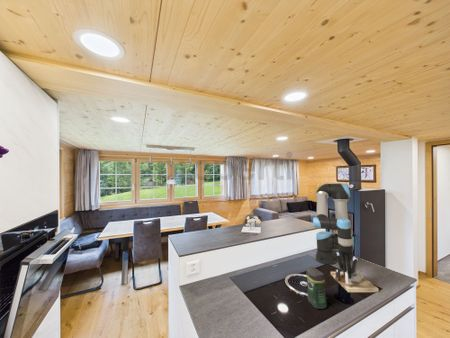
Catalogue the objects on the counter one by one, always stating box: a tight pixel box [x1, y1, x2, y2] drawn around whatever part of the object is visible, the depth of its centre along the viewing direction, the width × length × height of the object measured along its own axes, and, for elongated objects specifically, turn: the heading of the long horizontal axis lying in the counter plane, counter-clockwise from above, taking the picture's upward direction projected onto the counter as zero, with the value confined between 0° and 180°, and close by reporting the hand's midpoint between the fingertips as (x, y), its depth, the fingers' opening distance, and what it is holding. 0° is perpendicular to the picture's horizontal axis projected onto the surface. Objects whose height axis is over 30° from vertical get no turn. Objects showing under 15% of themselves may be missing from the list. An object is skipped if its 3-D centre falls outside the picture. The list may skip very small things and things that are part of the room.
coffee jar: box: [305, 266, 328, 310], centre depth 102 cm, size 10×8×19 cm
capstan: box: [334, 267, 362, 283], centre depth 119 cm, size 18×10×8 cm, turn 102°
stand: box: [330, 271, 380, 293], centre depth 120 cm, size 20×18×2 cm
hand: (348, 282), depth 112 cm, fingers closed
